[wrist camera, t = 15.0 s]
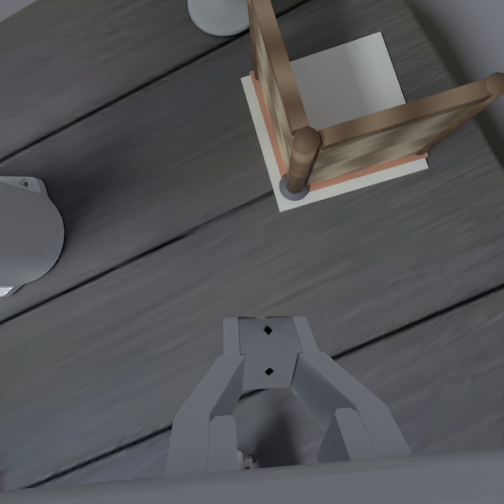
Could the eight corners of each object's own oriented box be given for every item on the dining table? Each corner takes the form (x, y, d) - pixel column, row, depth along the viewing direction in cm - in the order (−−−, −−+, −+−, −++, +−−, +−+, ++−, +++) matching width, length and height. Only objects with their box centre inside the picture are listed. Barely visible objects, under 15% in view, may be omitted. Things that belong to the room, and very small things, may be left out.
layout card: (280, 212, 36) (280, 211, 36) (240, 77, 38) (239, 74, 38) (430, 167, 35) (432, 166, 35) (381, 30, 37) (383, 26, 36)
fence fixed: (304, 192, 36) (323, 147, 23) (288, 196, 37) (297, 155, 23) (267, 68, 38) (263, -41, 25) (251, 73, 38) (239, -33, 25)
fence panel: (307, 188, 36) (324, 147, 23) (303, 175, 36) (318, 127, 24) (429, 152, 34) (514, 90, 22) (424, 139, 35) (506, 69, 22)
